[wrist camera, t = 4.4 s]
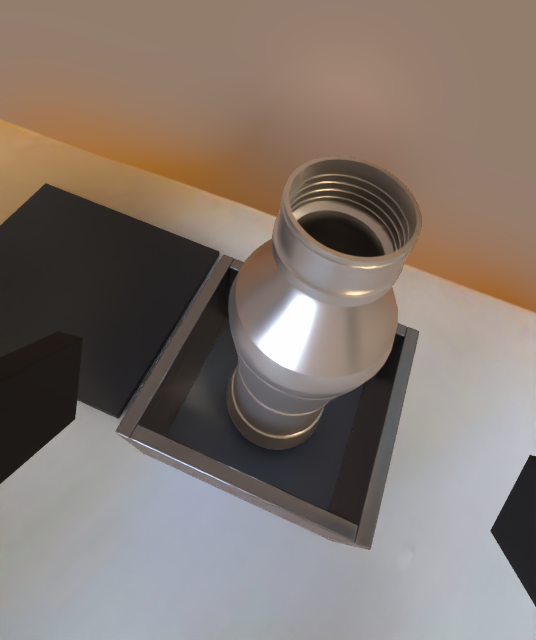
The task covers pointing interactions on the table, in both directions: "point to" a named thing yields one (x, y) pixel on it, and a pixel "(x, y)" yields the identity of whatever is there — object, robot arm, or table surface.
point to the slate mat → (95, 288)
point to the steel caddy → (336, 524)
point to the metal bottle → (318, 297)
